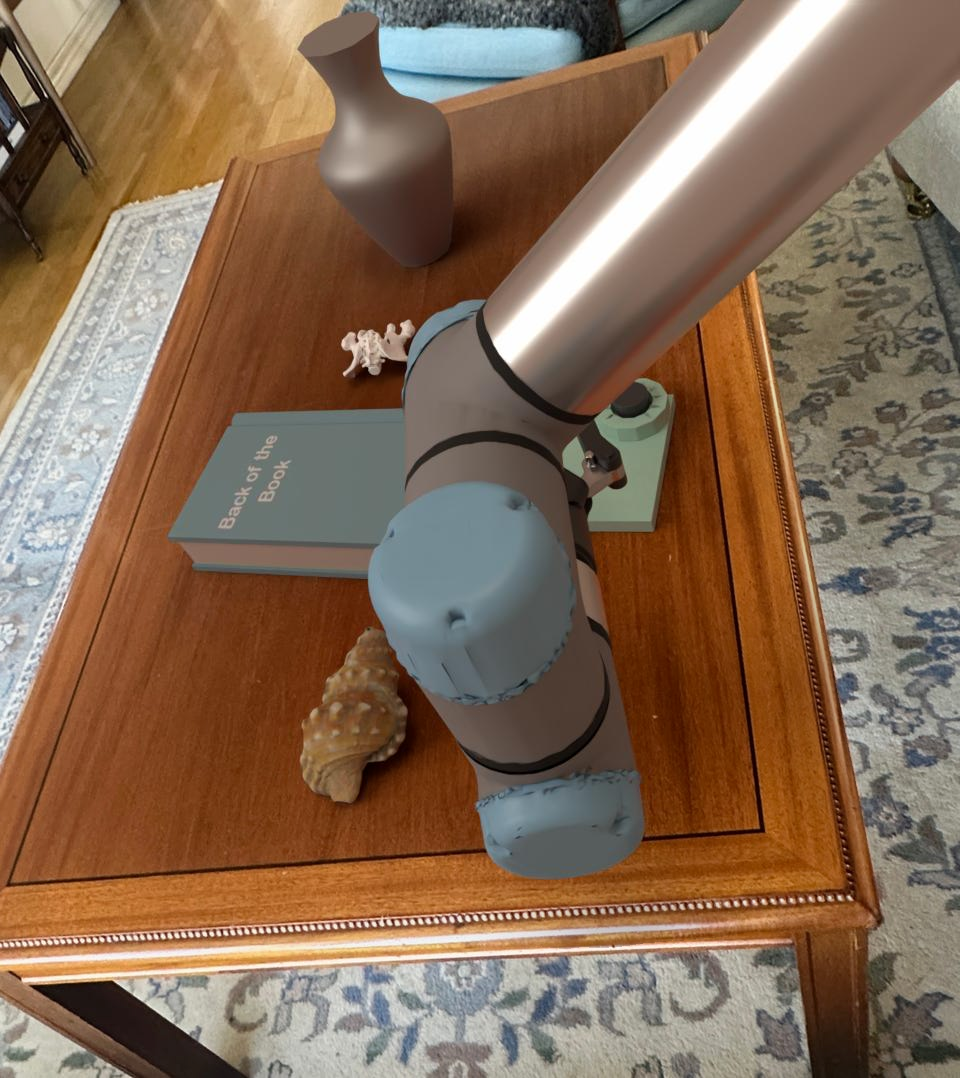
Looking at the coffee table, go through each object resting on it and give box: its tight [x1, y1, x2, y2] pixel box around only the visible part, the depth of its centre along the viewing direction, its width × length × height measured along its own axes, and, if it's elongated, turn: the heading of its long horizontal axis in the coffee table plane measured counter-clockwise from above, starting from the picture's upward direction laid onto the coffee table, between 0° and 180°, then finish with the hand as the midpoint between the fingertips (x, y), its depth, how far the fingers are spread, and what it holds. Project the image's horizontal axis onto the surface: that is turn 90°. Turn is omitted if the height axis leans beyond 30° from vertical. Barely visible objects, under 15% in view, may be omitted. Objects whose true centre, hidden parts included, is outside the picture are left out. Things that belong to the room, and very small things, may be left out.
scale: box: [562, 377, 677, 533], centre depth 83 cm, size 16×14×3 cm
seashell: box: [299, 626, 409, 804], centre depth 71 cm, size 9×8×10 cm
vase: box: [296, 10, 454, 269], centre depth 103 cm, size 14×14×25 cm
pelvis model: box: [340, 319, 416, 379], centre depth 99 cm, size 8×4×7 cm
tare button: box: [613, 382, 650, 418], centre depth 82 cm, size 3×3×1 cm
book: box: [166, 407, 405, 580], centre depth 88 cm, size 23×16×5 cm
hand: (495, 329), depth 69 cm, fingers closed on chess piece, 2 cm apart
